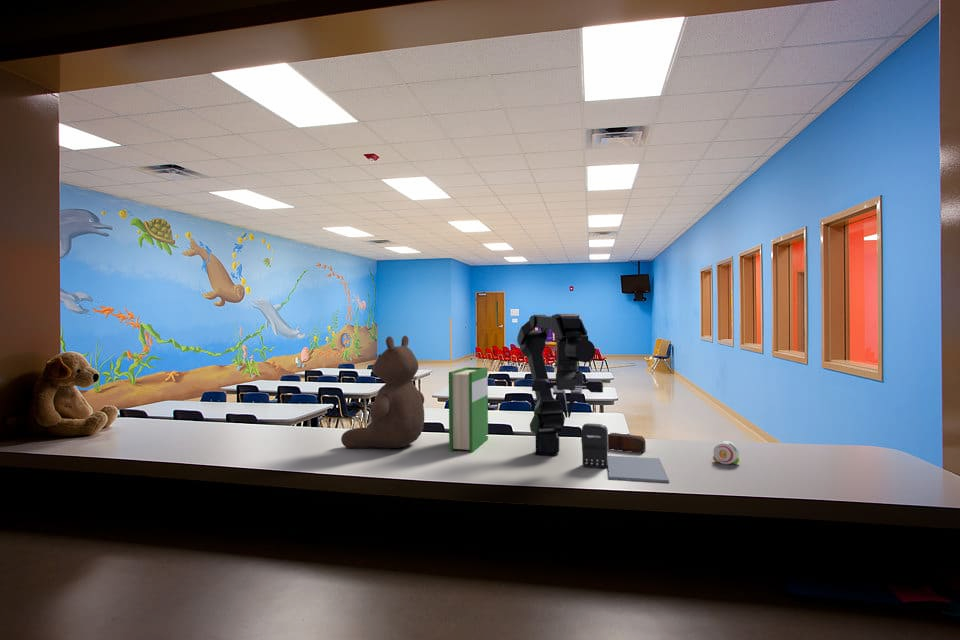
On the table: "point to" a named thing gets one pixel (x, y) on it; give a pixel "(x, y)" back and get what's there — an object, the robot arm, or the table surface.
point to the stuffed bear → (392, 403)
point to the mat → (636, 469)
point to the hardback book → (468, 408)
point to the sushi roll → (726, 453)
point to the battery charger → (594, 445)
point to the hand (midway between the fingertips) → (567, 417)
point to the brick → (626, 442)
